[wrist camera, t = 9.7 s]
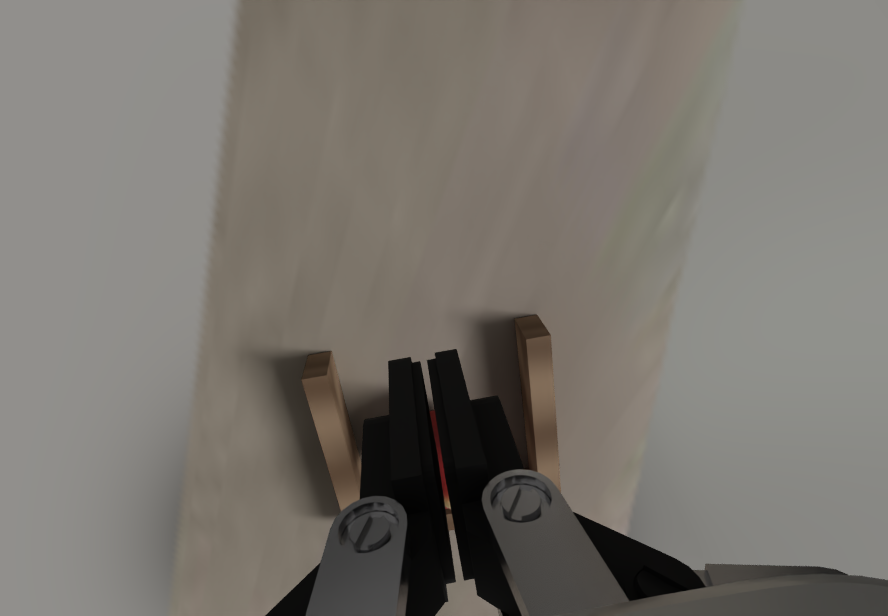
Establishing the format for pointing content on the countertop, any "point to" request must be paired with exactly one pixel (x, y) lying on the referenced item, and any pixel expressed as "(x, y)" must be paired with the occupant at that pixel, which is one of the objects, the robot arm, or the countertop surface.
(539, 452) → the corral
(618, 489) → the countertop surface
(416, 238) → the countertop surface
